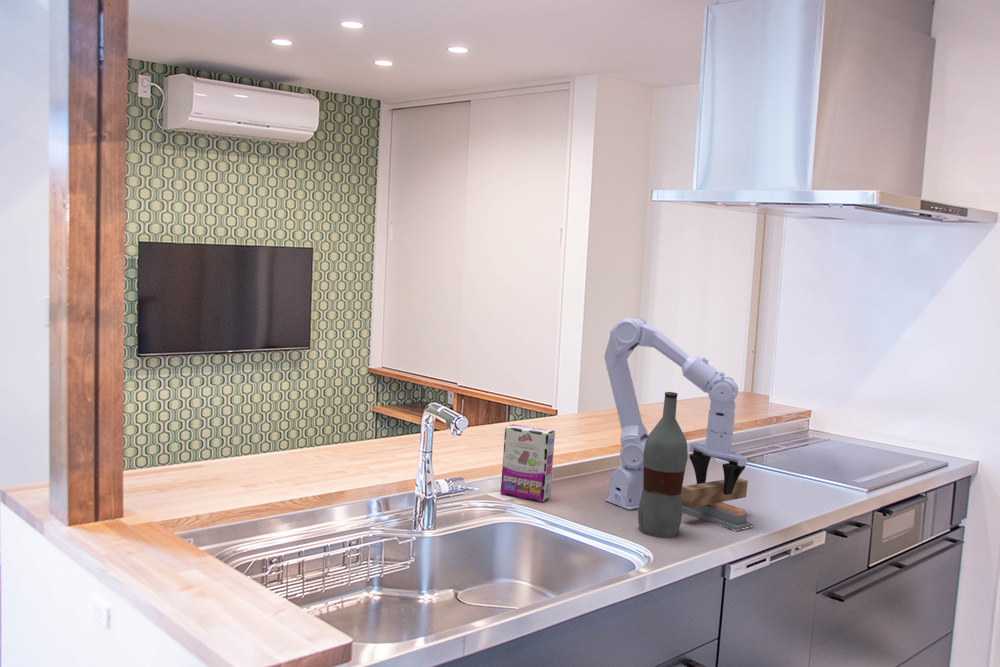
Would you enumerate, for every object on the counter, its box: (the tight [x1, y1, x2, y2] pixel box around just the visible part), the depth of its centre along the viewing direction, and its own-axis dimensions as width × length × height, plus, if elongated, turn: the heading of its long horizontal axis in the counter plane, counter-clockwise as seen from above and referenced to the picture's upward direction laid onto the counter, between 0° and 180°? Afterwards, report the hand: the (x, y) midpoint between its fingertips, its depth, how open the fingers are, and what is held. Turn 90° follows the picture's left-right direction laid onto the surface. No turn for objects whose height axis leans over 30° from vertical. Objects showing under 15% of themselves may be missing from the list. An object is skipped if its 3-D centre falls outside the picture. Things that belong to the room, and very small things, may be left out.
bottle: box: [637, 391, 689, 538], centre depth 175 cm, size 9×9×30 cm
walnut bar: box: [681, 477, 749, 508], centre depth 188 cm, size 20×3×4 cm, turn 127°
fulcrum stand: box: [682, 502, 754, 530], centre depth 189 cm, size 6×18×4 cm, turn 37°
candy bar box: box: [500, 424, 556, 503], centre depth 194 cm, size 11×5×16 cm, turn 65°
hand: (714, 489), depth 188 cm, fingers open, 7 cm apart
